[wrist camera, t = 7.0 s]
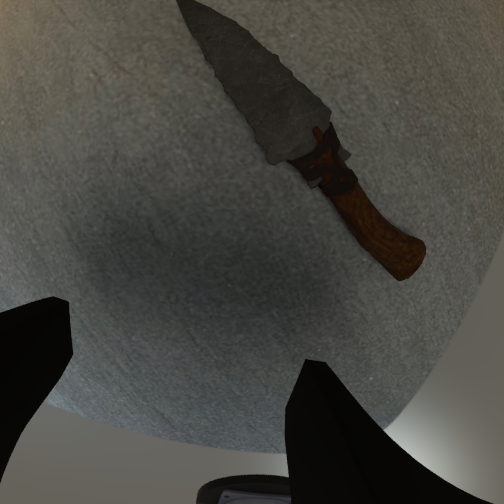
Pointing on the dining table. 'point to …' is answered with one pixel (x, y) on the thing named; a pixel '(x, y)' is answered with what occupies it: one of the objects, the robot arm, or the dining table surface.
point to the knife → (297, 131)
